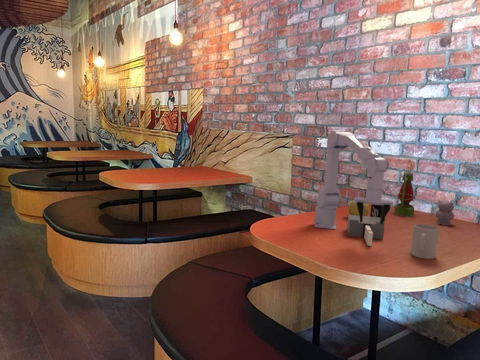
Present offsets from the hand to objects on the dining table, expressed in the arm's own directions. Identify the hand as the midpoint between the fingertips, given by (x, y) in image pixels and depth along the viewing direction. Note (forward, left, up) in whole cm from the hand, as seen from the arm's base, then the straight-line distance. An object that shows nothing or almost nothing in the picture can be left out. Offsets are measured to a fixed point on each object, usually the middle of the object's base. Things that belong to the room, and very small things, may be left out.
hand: (371, 222), depth 154 cm
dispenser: (0, +16, -9) cm, 19 cm away
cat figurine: (+43, +54, -9) cm, 70 cm away
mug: (+18, -8, -9) cm, 22 cm away
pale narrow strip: (0, +4, -9) cm, 10 cm away
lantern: (+27, +70, -9) cm, 76 cm away
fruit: (0, +47, -9) cm, 48 cm away
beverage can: (+7, +30, -9) cm, 33 cm away
